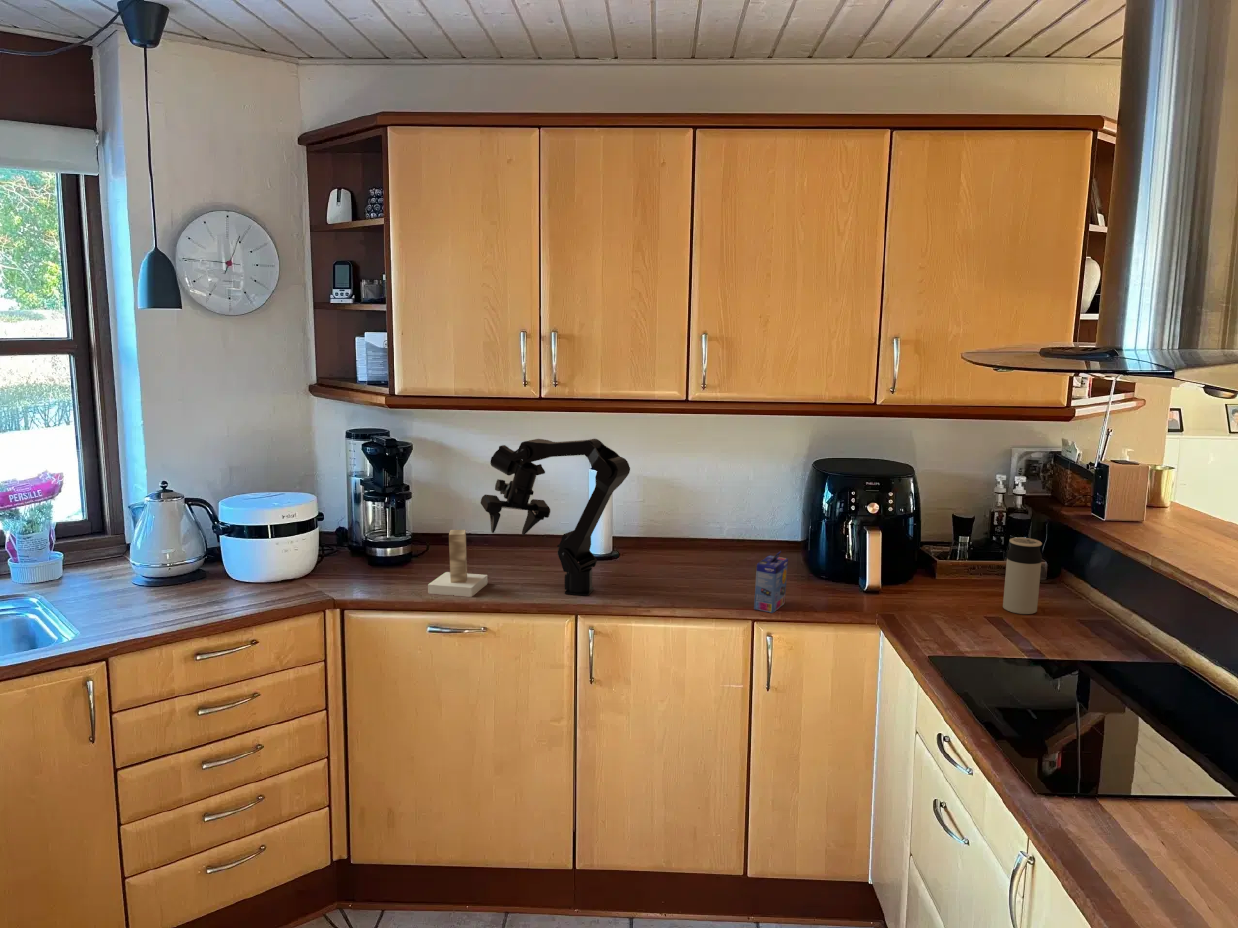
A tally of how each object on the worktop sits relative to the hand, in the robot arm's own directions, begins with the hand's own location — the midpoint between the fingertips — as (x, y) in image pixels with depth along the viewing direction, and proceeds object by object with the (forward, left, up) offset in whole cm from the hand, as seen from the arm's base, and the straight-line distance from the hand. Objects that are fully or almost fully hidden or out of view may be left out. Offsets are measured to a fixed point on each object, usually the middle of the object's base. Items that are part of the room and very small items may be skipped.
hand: (507, 533), depth 252 cm
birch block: (+10, +12, -10) cm, 19 cm away
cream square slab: (+10, +12, -13) cm, 21 cm away
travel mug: (-134, -6, -13) cm, 135 cm away
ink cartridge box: (-72, +7, -13) cm, 74 cm away
